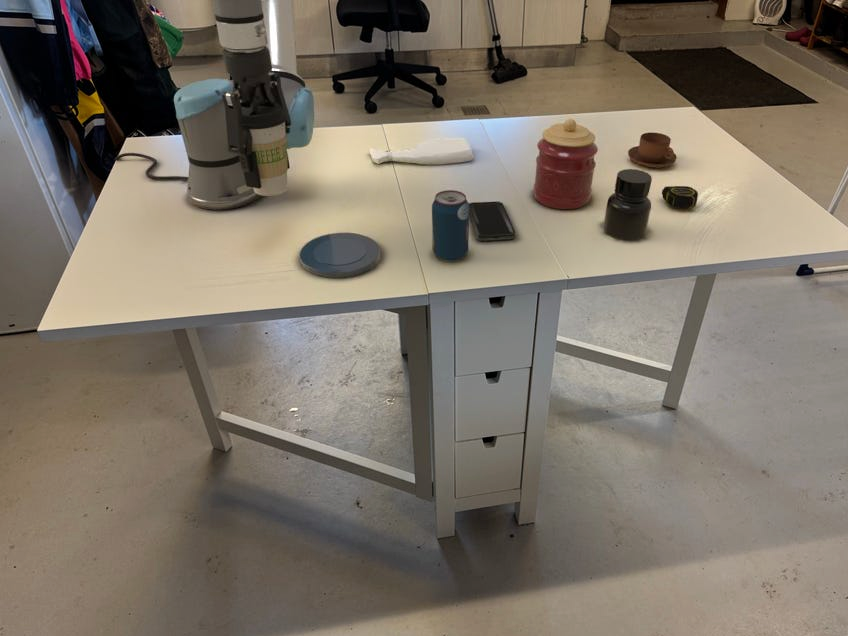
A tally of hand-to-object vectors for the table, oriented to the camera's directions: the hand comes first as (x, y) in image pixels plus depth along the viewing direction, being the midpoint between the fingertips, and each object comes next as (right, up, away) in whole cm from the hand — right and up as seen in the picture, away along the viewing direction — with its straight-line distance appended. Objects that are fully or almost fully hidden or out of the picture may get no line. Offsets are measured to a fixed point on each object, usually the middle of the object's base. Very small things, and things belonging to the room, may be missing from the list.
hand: (268, 176), depth 123 cm
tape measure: (+84, +1, +25) cm, 88 cm away
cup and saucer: (+83, +16, +43) cm, 95 cm away
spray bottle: (+25, +16, +41) cm, 50 cm away
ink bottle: (+70, -7, +15) cm, 72 cm away
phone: (+42, -6, +15) cm, 45 cm away
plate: (+13, -15, +3) cm, 20 cm away
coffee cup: (0, -2, +2) cm, 3 cm away
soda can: (+34, -14, +5) cm, 37 cm away
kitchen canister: (+58, +2, +26) cm, 64 cm away
